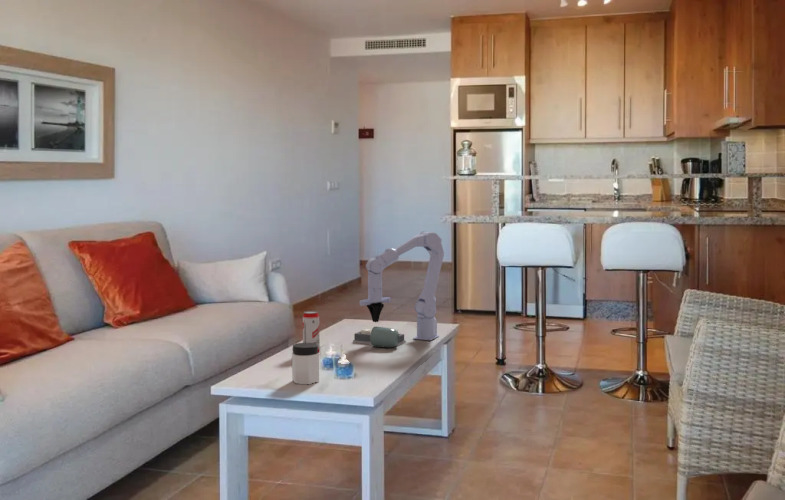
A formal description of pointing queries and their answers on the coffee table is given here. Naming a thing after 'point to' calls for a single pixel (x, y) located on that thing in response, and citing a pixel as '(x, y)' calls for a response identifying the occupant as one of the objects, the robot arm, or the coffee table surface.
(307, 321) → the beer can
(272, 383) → the coffee table surface
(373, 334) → the cup
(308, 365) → the jar
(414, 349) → the coffee table surface
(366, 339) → the gray compartment tray
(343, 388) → the coffee table surface
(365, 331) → the white egg
